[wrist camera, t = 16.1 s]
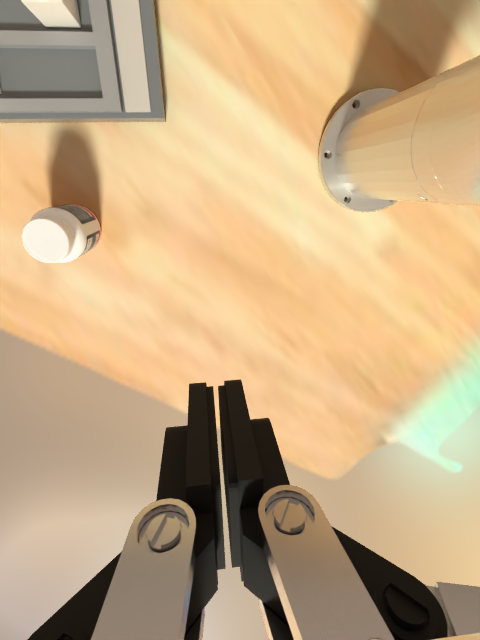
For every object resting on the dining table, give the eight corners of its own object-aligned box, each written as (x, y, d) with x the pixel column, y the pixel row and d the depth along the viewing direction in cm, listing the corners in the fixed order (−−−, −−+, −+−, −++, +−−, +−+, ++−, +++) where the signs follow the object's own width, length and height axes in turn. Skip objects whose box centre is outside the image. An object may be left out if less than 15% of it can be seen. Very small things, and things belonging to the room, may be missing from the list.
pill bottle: (45, 208, 37) (1, 215, 29) (92, 199, 37) (62, 203, 29) (63, 255, 39) (28, 274, 31) (108, 246, 39) (84, 263, 31)
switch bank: (144, -106, 29) (138, -135, 26) (165, 121, 35) (163, 116, 32) (-168, -125, 26) (-208, -159, 24) (-84, 123, 33) (-108, 118, 30)
